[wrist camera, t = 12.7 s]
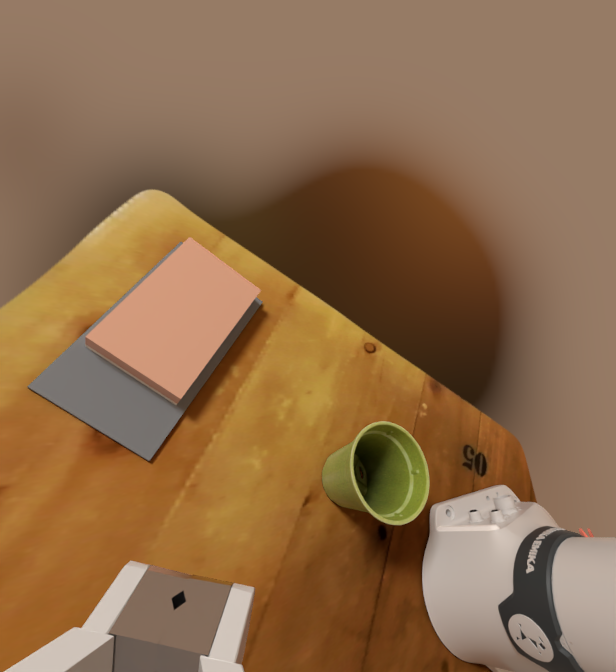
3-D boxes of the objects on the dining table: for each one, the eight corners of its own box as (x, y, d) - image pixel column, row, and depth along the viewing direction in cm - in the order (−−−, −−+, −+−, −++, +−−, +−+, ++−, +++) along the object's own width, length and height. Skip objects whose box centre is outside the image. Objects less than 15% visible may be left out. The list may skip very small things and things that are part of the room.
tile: (180, 399, 35) (261, 290, 44) (85, 336, 33) (189, 237, 43) (176, 405, 37) (254, 299, 46) (85, 346, 35) (185, 249, 45)
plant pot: (322, 538, 39) (373, 541, 32) (297, 448, 42) (338, 433, 35) (387, 507, 44) (442, 504, 37) (361, 428, 47) (408, 412, 40)
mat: (148, 461, 34) (149, 461, 34) (27, 387, 32) (27, 386, 32) (261, 303, 47) (262, 301, 47) (180, 243, 45) (181, 241, 45)
